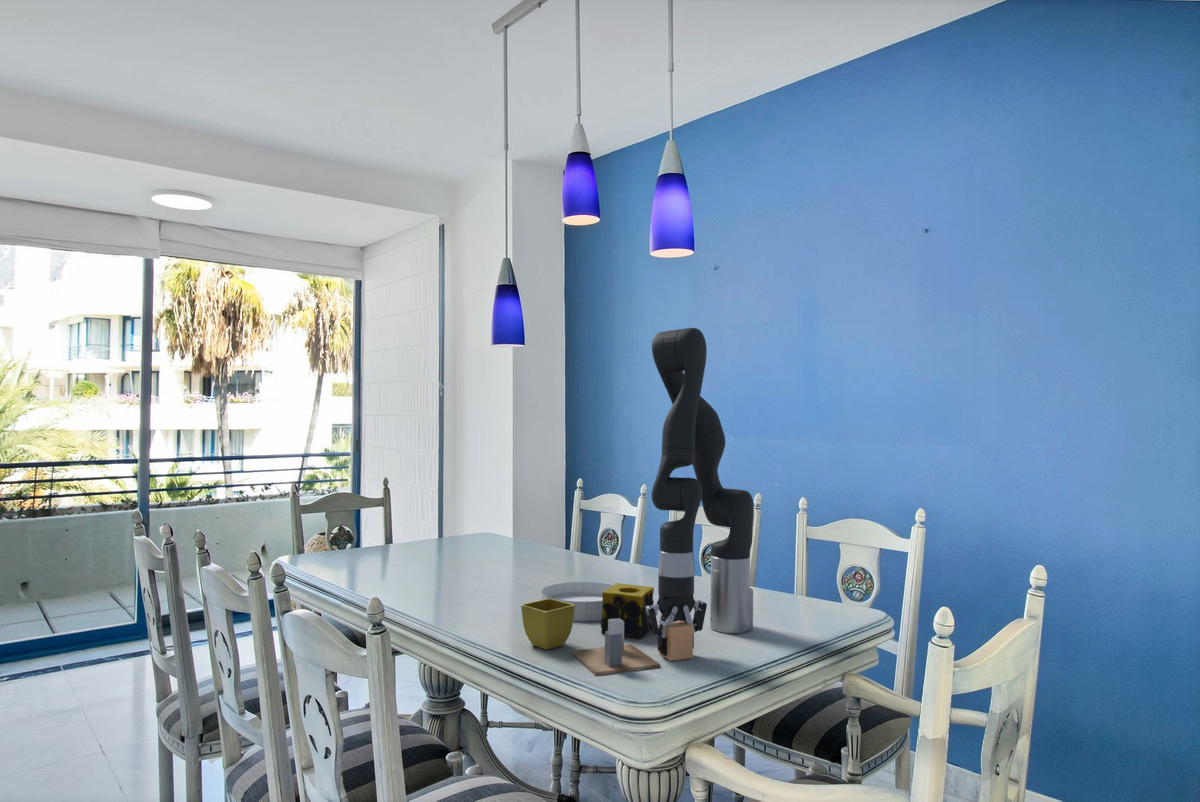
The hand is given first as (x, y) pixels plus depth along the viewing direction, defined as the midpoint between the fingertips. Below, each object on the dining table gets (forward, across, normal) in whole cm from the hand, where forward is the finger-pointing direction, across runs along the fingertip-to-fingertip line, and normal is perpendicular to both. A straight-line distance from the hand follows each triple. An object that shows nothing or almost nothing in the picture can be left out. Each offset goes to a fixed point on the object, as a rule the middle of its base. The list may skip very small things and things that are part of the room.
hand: (675, 652), depth 157 cm
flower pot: (+1, +23, -16) cm, 28 cm away
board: (+1, +13, -2) cm, 13 cm away
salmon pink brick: (+1, 0, 0) cm, 1 cm away
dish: (+1, +5, -42) cm, 42 cm away
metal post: (0, +11, -6) cm, 13 cm away
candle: (+1, +2, -20) cm, 20 cm away
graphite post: (0, +15, +2) cm, 15 cm away
